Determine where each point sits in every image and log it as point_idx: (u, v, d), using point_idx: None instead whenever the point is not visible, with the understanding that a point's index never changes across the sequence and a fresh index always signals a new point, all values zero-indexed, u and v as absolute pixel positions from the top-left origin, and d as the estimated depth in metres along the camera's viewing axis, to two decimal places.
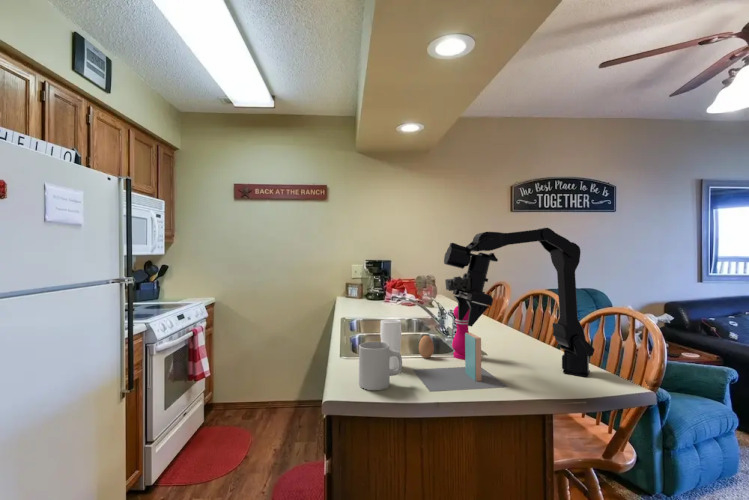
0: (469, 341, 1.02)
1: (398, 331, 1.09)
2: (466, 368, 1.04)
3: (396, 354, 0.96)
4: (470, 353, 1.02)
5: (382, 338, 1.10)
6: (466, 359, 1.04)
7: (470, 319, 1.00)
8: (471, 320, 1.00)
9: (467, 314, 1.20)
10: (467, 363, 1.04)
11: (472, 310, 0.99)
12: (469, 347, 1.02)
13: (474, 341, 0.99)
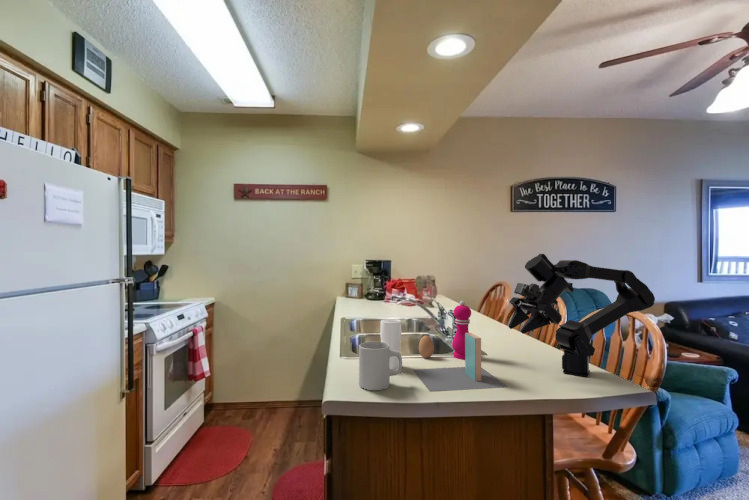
0: (469, 341, 1.02)
1: (398, 331, 1.09)
2: (466, 368, 1.04)
3: (396, 354, 0.96)
4: (470, 353, 1.02)
5: (382, 338, 1.10)
6: (466, 359, 1.04)
7: (526, 327, 1.00)
8: (526, 328, 1.00)
9: (467, 314, 1.20)
10: (467, 363, 1.04)
11: (533, 319, 1.00)
12: (469, 347, 1.02)
13: (474, 341, 0.99)
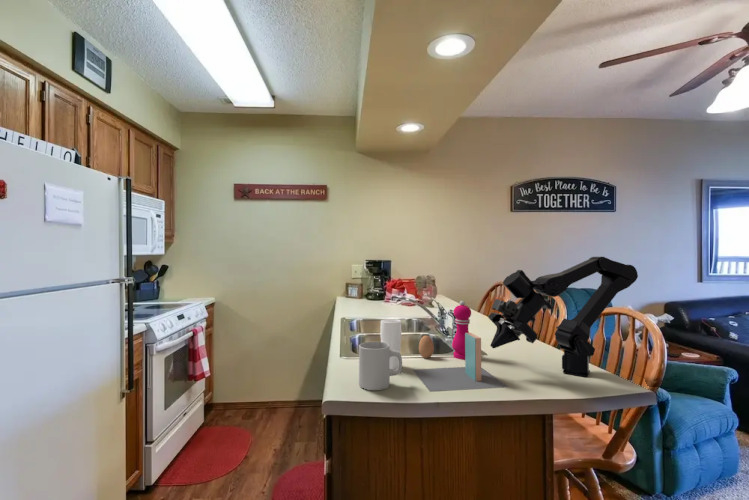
0: (469, 341, 1.02)
1: (398, 331, 1.09)
2: (466, 368, 1.04)
3: (396, 354, 0.96)
4: (470, 353, 1.02)
5: (382, 338, 1.10)
6: (466, 359, 1.04)
7: (496, 342, 1.02)
8: (496, 343, 1.02)
9: (467, 314, 1.20)
10: (467, 363, 1.04)
11: (503, 334, 1.02)
12: (469, 347, 1.02)
13: (474, 341, 0.99)
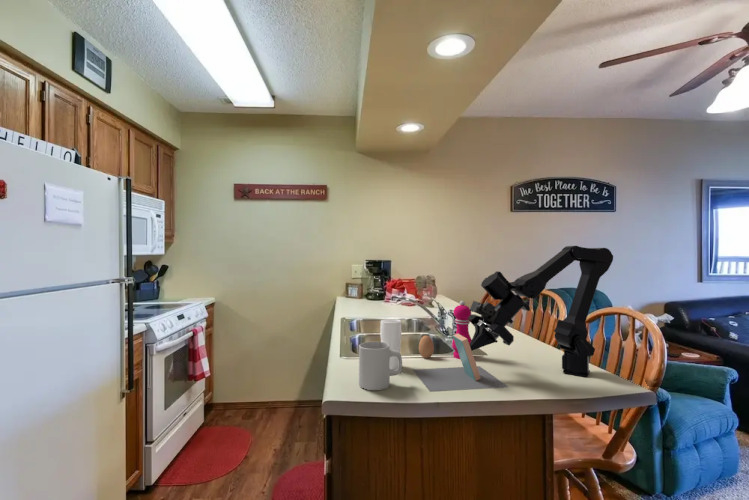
0: (458, 343, 1.02)
1: (398, 331, 1.09)
2: (464, 368, 1.04)
3: (396, 354, 0.96)
4: (463, 355, 1.01)
5: (382, 338, 1.10)
6: (461, 360, 1.04)
7: (474, 344, 1.01)
8: (474, 345, 1.01)
9: (467, 314, 1.20)
10: (463, 364, 1.03)
11: (480, 337, 1.01)
12: (460, 349, 1.02)
13: (462, 344, 0.98)
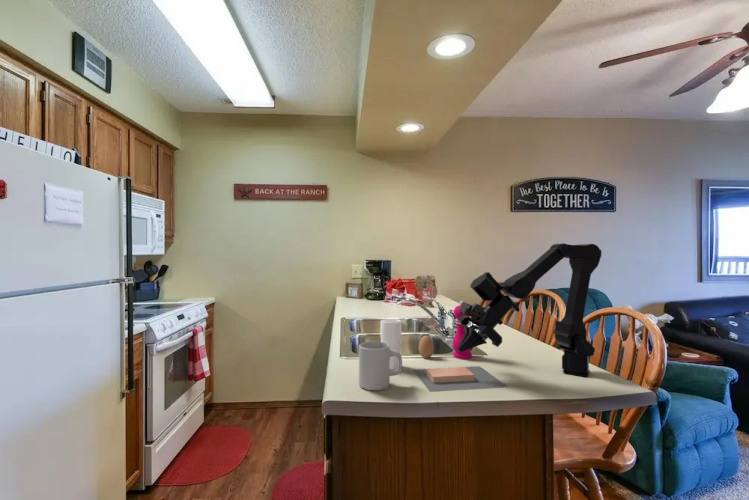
0: None
1: (398, 331, 1.09)
2: None
3: (396, 354, 0.96)
4: None
5: (382, 338, 1.10)
6: None
7: (463, 345, 1.01)
8: (464, 346, 1.01)
9: None
10: None
11: (470, 338, 1.00)
12: None
13: None
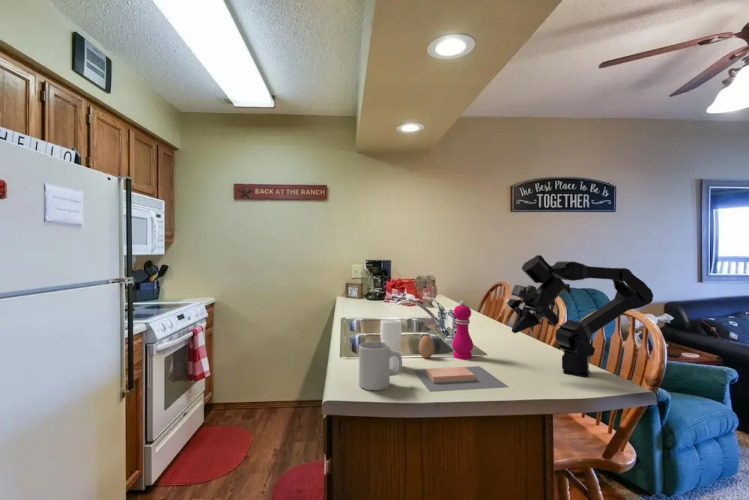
0: None
1: (398, 331, 1.09)
2: None
3: (396, 354, 0.96)
4: None
5: (382, 338, 1.10)
6: None
7: (518, 327, 1.03)
8: (518, 327, 1.03)
9: (467, 314, 1.20)
10: None
11: (524, 319, 1.03)
12: None
13: None
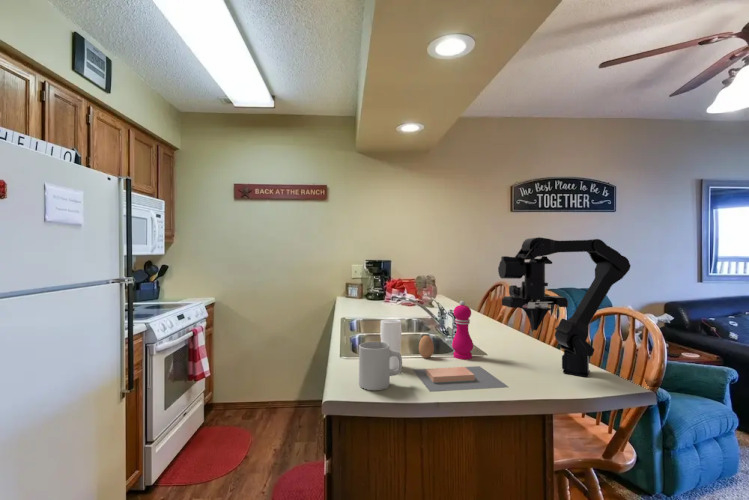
0: None
1: (398, 331, 1.09)
2: None
3: (396, 354, 0.96)
4: None
5: (382, 338, 1.10)
6: None
7: (531, 323, 1.07)
8: (531, 324, 1.06)
9: (467, 314, 1.20)
10: None
11: (528, 314, 1.07)
12: None
13: None
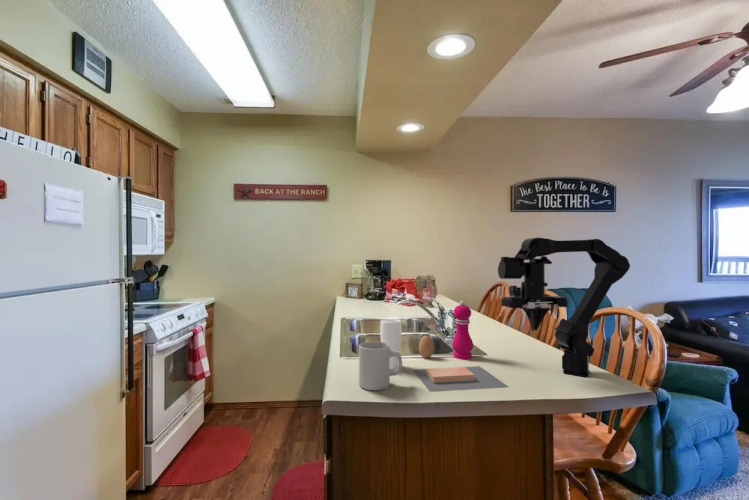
0: None
1: (398, 331, 1.09)
2: None
3: (396, 354, 0.96)
4: None
5: (382, 338, 1.10)
6: None
7: (531, 323, 1.07)
8: (531, 324, 1.07)
9: (467, 314, 1.20)
10: None
11: (527, 314, 1.07)
12: None
13: None
